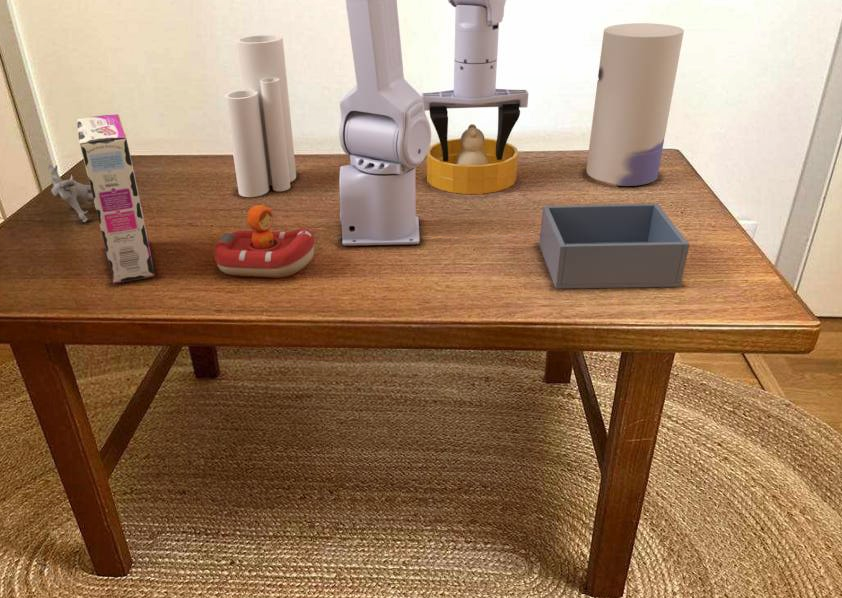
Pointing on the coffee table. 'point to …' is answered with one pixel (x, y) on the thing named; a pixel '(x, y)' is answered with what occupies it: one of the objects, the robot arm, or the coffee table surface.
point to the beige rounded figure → (472, 148)
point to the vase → (261, 117)
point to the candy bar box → (115, 197)
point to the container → (633, 102)
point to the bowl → (471, 169)
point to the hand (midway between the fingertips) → (472, 158)
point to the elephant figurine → (70, 191)
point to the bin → (612, 246)
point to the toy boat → (264, 248)
